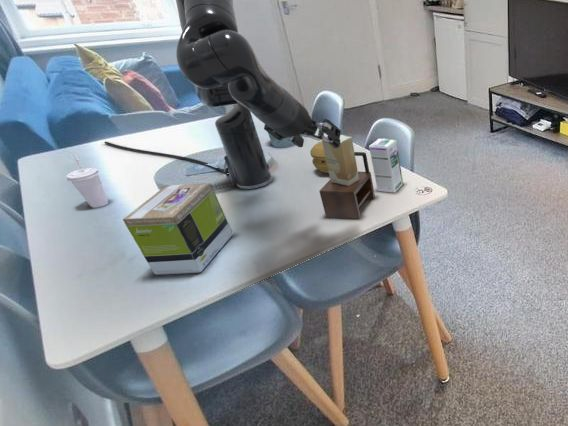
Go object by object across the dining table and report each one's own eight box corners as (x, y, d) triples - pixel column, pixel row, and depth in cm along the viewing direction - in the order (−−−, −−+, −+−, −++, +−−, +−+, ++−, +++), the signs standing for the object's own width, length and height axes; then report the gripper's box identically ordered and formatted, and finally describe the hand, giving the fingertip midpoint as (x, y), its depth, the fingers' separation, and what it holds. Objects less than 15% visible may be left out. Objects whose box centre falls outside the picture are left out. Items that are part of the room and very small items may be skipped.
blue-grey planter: (270, 150, 151) (260, 117, 145) (269, 140, 159) (260, 109, 153) (301, 145, 155) (292, 113, 149) (299, 136, 163) (291, 105, 157)
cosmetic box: (330, 182, 112) (319, 138, 105) (341, 175, 115) (331, 132, 109) (349, 186, 110) (340, 142, 103) (360, 179, 113) (352, 136, 107)
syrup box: (395, 193, 124) (388, 146, 116) (376, 191, 125) (368, 144, 117) (403, 184, 128) (397, 139, 121) (385, 182, 129) (377, 137, 122)
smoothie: (120, 200, 119) (95, 154, 112) (94, 211, 114) (66, 164, 107) (104, 197, 121) (79, 151, 114) (78, 208, 116) (50, 160, 109)
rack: (326, 217, 112) (313, 169, 105) (344, 195, 122) (334, 150, 115) (359, 219, 111) (348, 170, 104) (375, 197, 122) (366, 151, 114)
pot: (328, 181, 130) (321, 150, 125) (307, 171, 136) (299, 141, 131) (361, 168, 138) (355, 139, 133) (340, 159, 144) (333, 131, 139)
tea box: (191, 237, 104) (166, 183, 96) (234, 235, 105) (213, 181, 97) (152, 276, 91) (119, 217, 83) (201, 273, 92) (173, 215, 84)
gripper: (317, 93, 83) (351, 129, 99) (247, 92, 84) (292, 128, 100) (311, 128, 81) (347, 159, 97) (240, 127, 82) (287, 158, 98)
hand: (319, 143), depth 98 cm, fingers open, 8 cm apart
